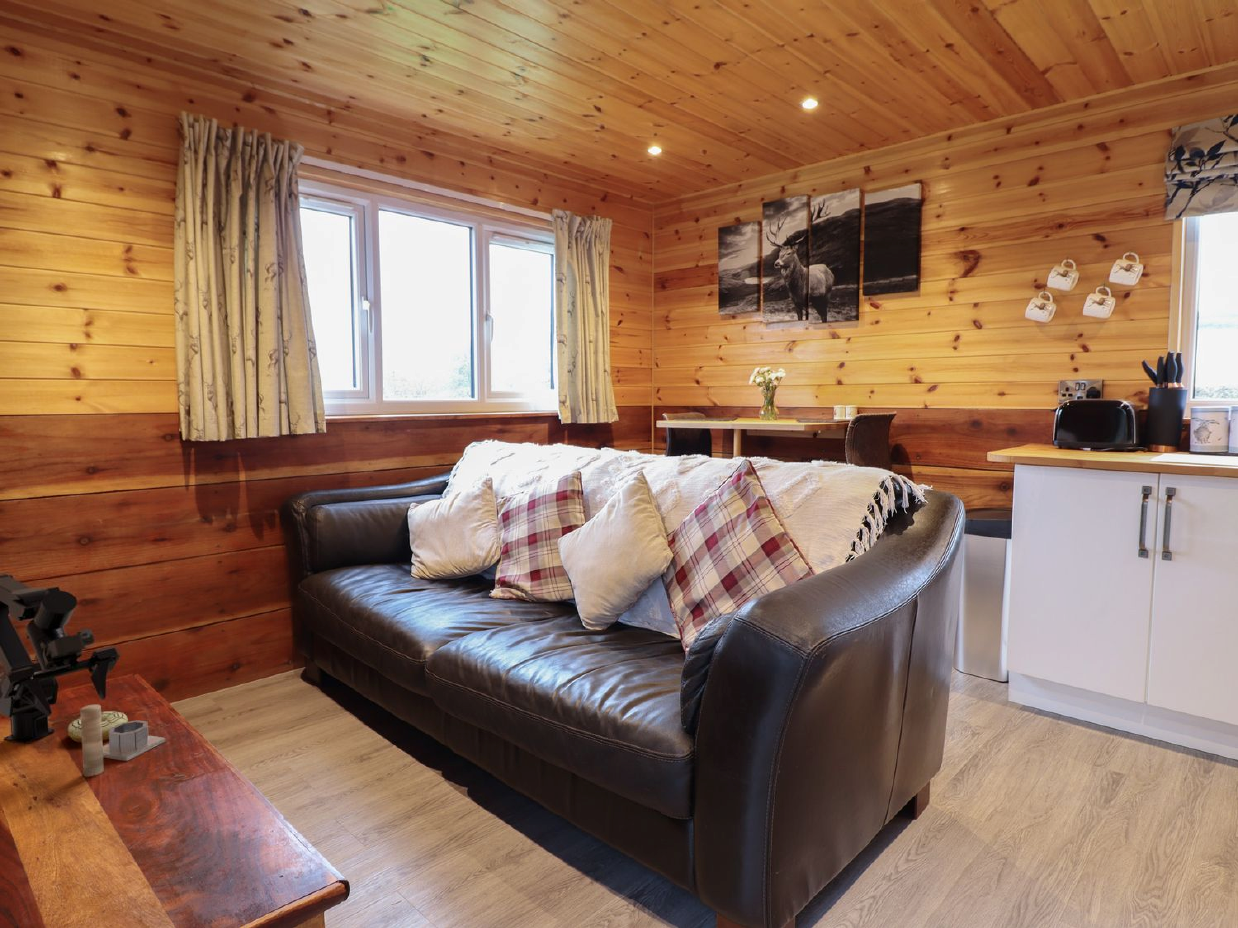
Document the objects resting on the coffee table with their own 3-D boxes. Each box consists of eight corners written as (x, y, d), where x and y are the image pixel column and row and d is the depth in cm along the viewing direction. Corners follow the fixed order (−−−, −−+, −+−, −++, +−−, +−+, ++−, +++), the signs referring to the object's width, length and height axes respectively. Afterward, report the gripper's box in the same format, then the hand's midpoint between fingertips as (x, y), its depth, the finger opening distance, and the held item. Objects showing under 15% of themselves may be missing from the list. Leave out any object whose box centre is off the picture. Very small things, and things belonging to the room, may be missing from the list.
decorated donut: (87, 749, 152) (86, 732, 152) (57, 739, 157) (56, 722, 156) (138, 729, 162) (137, 713, 161) (108, 720, 166) (107, 704, 166)
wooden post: (79, 775, 141) (76, 710, 140) (95, 767, 144) (92, 703, 143) (92, 777, 140) (89, 712, 139) (107, 769, 143) (104, 705, 142)
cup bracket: (92, 755, 149) (91, 733, 149) (131, 736, 158) (131, 716, 158) (126, 760, 147) (126, 739, 147) (165, 741, 156) (164, 720, 155)
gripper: (3, 631, 138) (31, 700, 133) (113, 608, 154) (142, 669, 149) (-11, 663, 143) (15, 731, 138) (97, 638, 158) (124, 699, 153)
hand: (77, 706), depth 144 cm, fingers open, 9 cm apart
